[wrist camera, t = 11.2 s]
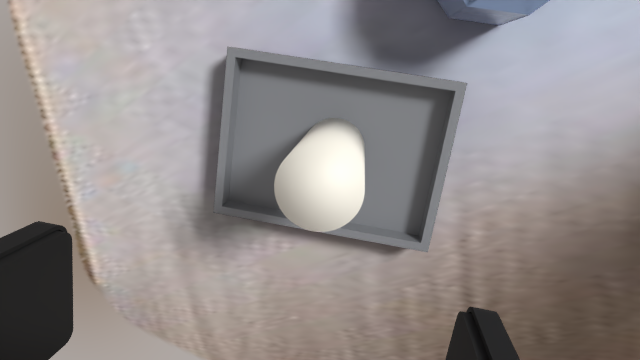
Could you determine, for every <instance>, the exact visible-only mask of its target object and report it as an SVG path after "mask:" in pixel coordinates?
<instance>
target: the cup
mask: <svg viewBox="0 0 640 360" xmlns="http://www.w3.org/2000/svg"><path fill="white" fill-rule="evenodd" d="M437 1H438V2H439V4H440V6H441V7H442V9H443V10H444V12H445V13H446V15H447V16H448V18H449V19H458V20H465V21H472V22H479V23H486V24H493V25H502V24H505V23H508V22H511V21H514V20H517V19H520V18H523V17H526V16H529V15H530V14H531V13H533V12H534V11H535V10H537V9H538V8H540V7H541V6H542V5H544V4H545V3H547V2H548V1H550V0H437Z"/></svg>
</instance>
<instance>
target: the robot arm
mask: <svg viewBox="0 0 640 360" xmlns="http://www.w3.org/2000/svg"><path fill="white" fill-rule="evenodd" d="M72 332H73V276H72V237H71V235H70V234H69V233H67V230H66V228H65V227H63V226H60V225H55V224H50V223H45V222H40V221H38V222H35V223H32V224H30V225H28V226H26V227H24V228H22V229H19V230H17V231H15V232H13V233H11V234H8V235H6V236H4V237H2V238H0V360H48V359H50V358H51V357H52V356H53V355H54V354H55V353H56V352H58V351H59V350H60V349H61V348H62V347H63V346H64V345H65V344H66V343H67V342H68V341H69V339H70V337H71V335H72ZM446 360H520V359H519V357H518V355H517V353H516V351H515V349H514V347H513V344H512V342H511V340H510V338H509V336H508V334H507V332H506V330H505V328H504V326H503V323H502V321H501V319H500V317H499V315H498V314H497V312H494V311H489V310H484V309H479V308H474V307H469V308H468V310H467V312H461V311H460V312H459V313H458V315H457V319H456V322H455V326H454V330H453V334H452V337H451V341H450V345H449V349H448V352H447V356H446Z"/></svg>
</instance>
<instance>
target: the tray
mask: <svg viewBox="0 0 640 360" xmlns="http://www.w3.org/2000/svg"><path fill="white" fill-rule="evenodd" d="M466 86H467V83H464V82H458V81H451V80H445V79H438V78H431V77H425V76H418V75H412V74H405V73H399V72H392V71H386V70H379V69H372V68H366V67H359V66H353V65H346V64H340V63H333V62H327V61H320V60H313V59H307V58H300V57H294V56H287V55H281V54H274V53H268V52H261V51H254V50H248V49H241V48H234V47H227V58H226V70H225V82H224V94H223V106H222V118H221V129H220V141H219V153H218V165H217V177H216V188H215V200H214V212H213V213H218V214H224V215H229V216H235V217H240V218H245V219H251V220H256V221H262V222H267V223H272V224H278V225H283V226H289V227H294V228H299V229H303V228H301V227H299V226H297V225H295V224H294V223H292V222H291V221H290V220H289V219H288V218H287V217H286V216H285V215H284V214H283V212H282V211H281V209H280V208H279V206H278V204H277V201H276V198H275V193H274V181H275V176H276V173H277V170H278V168H279V166H280V165H281V163H282V162H283V160H284V159H285V158H286V157H287V156H288V155H289V153H290V152H291V151H292V150H293V149H294V148H295V146H296V145H297V144H298V143H299V142H300V141H301V140H302V138H303V137H304V136H305V135H306V134H307V133H308V131H309V130H310V129H311V128H312V127H313V126H314V125H315V124H317V123H318V122H320V121H322V120H324V119H328V118H340V119H344V120H346V121H348V122H350V123H352V124H353V125H354V126H355V127H356V128H357V129H358V130H359V131H360V133H361V135H362V137H363V140H364V147H365V194H364V200H363V203H362V206H361V208H360V210H359V211H358V213H357V214H356V216H355V217H354V218H353V219H352V220H351V221H350V222H349V223H347V224H346V225H344V226H342V227H341V228H338V229H336V230H332V231H327V232H321V233H326V234H332V235H337V236H343V237H348V238H353V239H359V240H364V241H370V242H375V243H380V244H386V245H391V246H397V247H402V248H407V249H413V250H418V251H424V252H428V249H429V245H430V240H431V236H432V232H433V227H434V223H435V219H436V215H437V210H438V206H439V202H440V197H441V193H442V189H443V185H444V180H445V176H446V172H447V167H448V163H449V159H450V154H451V150H452V146H453V142H454V137H455V133H456V129H457V124H458V120H459V116H460V112H461V107H462V103H463V99H464V94H465V90H466ZM305 230H306V229H305Z"/></svg>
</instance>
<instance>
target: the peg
mask: <svg viewBox="0 0 640 360" xmlns="http://www.w3.org/2000/svg"><path fill="white" fill-rule="evenodd" d="M274 193H275V198H276V201H277V204H278V206H279V208H280V209H281V211H282V212H283V214H284V215H285V216H286V217H287V218H288V219H289V220H290V221H291V222H292V223H294V224H295V225H297V226H299V227H301V228H303V229H306V230H309V231H315V232H327V231H332V230H336V229H338V228H341V227H342V226H344V225H346V224H347V223H349V222H350V221H351V220H352V219H353V218H354V217H355V216H356V214H357V213H358V211H359V210H360V208H361V206H362V203H363V200H364V194H365V147H364V140H363V137H362V135H361V133H360V131H359V130H358V129H357V128H356V127H355V126H354V125H353V124H352V123H350V122H348V121H346V120H344V119H340V118H328V119H324V120H322V121H320V122H318V123H317V124H315V125H314V126H313V127H312V128H311V129H310V130H309V131H308V133H307V134H306V135H305V136H304V137H303V138H302V140H301V141H300V142H299V143H298V144H297V145H296V146H295V148H294V149H293V150H292V151H291V152H290V153H289V155H288V156H287V157H286V158H285V159H284V160H283V162H282V163H281V165H280V166H279V168H278V170H277V173H276V176H275V181H274Z"/></svg>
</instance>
